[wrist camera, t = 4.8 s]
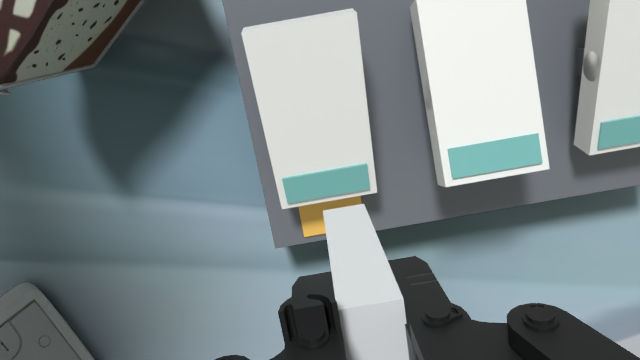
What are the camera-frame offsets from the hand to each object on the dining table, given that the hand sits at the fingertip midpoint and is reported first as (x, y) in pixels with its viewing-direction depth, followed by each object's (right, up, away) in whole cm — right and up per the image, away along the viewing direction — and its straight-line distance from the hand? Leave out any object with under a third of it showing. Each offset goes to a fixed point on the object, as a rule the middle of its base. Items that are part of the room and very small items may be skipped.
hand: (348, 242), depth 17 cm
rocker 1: (-1, +6, +8) cm, 10 cm away
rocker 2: (+8, +7, +8) cm, 13 cm away
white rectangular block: (+16, +9, +8) cm, 20 cm away
